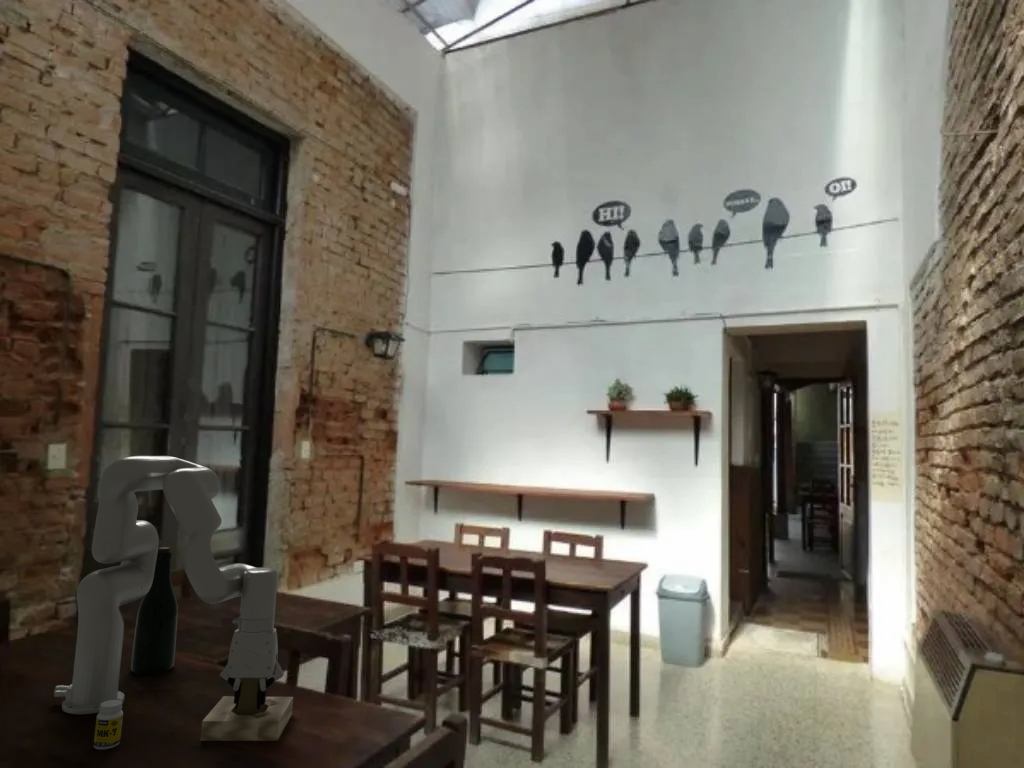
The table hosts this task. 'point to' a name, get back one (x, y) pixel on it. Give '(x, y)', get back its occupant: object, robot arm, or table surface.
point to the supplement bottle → (108, 725)
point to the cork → (248, 697)
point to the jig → (247, 721)
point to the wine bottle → (156, 622)
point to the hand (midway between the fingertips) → (249, 706)
